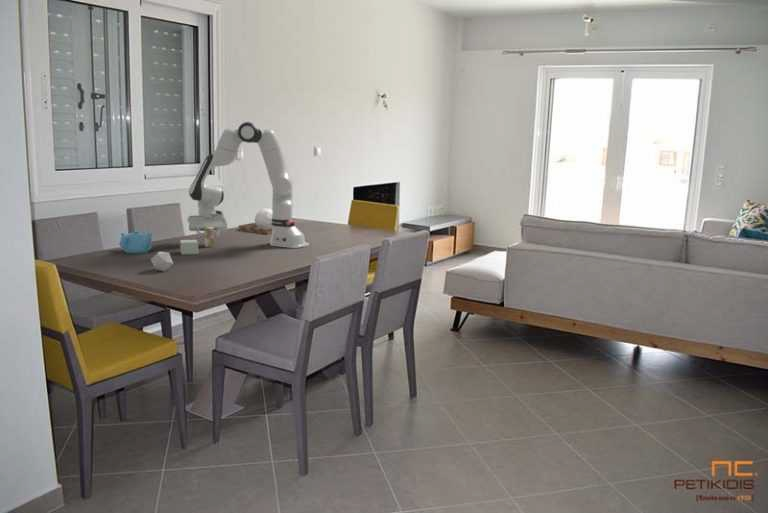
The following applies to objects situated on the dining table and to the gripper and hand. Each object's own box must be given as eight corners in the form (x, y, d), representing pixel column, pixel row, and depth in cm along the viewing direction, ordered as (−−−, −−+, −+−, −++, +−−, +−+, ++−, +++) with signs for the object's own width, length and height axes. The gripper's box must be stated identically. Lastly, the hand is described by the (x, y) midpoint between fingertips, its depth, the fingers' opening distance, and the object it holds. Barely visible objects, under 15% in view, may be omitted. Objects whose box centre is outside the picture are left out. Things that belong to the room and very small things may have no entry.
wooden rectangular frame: (293, 229, 411) (293, 225, 410) (268, 234, 391) (268, 229, 390) (263, 225, 423) (263, 221, 422) (238, 230, 402) (238, 225, 402)
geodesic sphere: (252, 218, 413) (254, 202, 403) (275, 217, 418) (277, 202, 407) (254, 235, 404) (256, 219, 394) (277, 234, 408) (279, 219, 398)
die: (177, 271, 293) (172, 251, 296) (169, 265, 284) (164, 245, 287) (159, 277, 292) (154, 257, 296) (151, 271, 284) (146, 251, 287)
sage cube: (196, 251, 335) (196, 239, 334) (198, 254, 328) (198, 242, 327) (180, 251, 332) (179, 240, 331) (181, 254, 325) (181, 243, 324)
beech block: (213, 245, 352) (212, 227, 350) (213, 246, 348) (213, 228, 346) (204, 245, 350) (204, 227, 348) (205, 247, 346) (204, 228, 344)
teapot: (121, 248, 334) (120, 228, 332) (152, 248, 338) (152, 227, 336) (119, 254, 320) (118, 233, 317) (151, 253, 324) (151, 232, 322)
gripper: (187, 212, 348) (189, 233, 341) (226, 211, 355) (228, 232, 348) (187, 219, 353) (188, 240, 346) (225, 218, 360) (227, 239, 353)
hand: (209, 236), depth 347 cm, fingers open, 7 cm apart
